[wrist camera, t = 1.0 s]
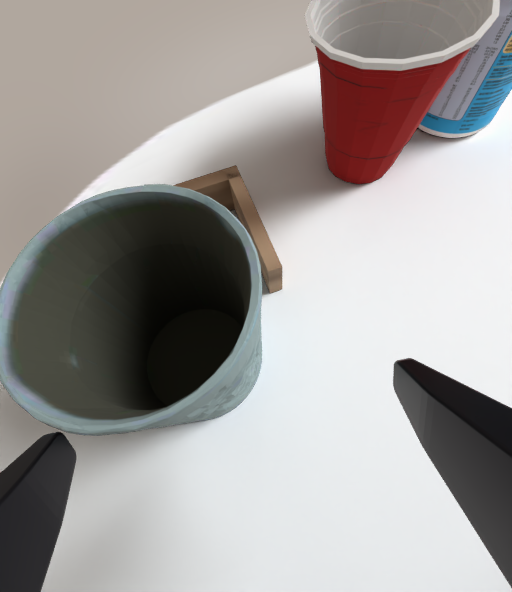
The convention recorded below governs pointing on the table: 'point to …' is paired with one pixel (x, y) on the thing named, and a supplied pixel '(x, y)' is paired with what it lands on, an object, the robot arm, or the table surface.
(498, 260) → the table surface
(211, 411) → the green plant pot
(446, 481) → the robot arm
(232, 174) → the walnut bay
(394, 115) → the plastic cup
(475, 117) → the beverage bottle
